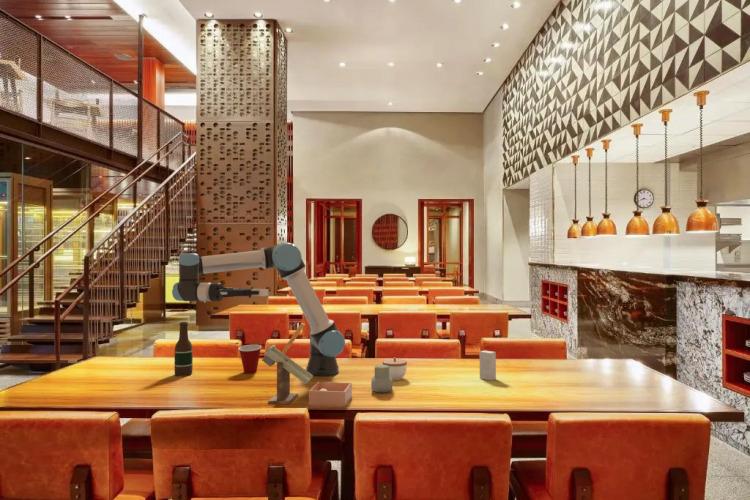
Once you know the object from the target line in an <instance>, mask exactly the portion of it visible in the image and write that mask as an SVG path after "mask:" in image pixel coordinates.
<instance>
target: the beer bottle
mask: <svg viewBox="0 0 750 500" xmlns="http://www.w3.org/2000/svg"><path fill="white" fill-rule="evenodd" d="M188 325H189V323H188V321H181V322H179V325H178V326H179V335H178V336H179V338H178V341H177V342H176V344H175V346H174V376H176V377H187V376H191V375H192V374H193V361H194V360H193V357H194V356H193V350H194V349H193V345H192V342H191V340H190V339H189V329H188Z"/></svg>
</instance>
